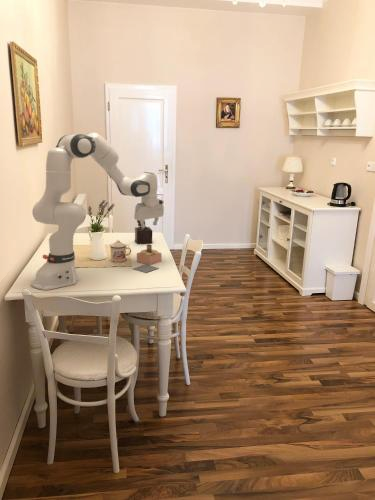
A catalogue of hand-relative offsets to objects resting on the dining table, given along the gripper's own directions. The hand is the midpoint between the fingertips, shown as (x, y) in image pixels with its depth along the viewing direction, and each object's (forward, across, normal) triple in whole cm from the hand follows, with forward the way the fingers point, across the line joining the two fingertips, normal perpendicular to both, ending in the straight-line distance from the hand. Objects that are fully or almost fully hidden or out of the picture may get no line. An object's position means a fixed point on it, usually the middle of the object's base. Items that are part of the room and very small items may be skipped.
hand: (149, 226), depth 228 cm
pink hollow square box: (+21, 0, 0) cm, 21 cm away
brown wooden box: (+20, +27, +32) cm, 46 cm away
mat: (+21, -10, -8) cm, 25 cm away
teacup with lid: (+21, -9, +14) cm, 27 cm away
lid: (+16, 0, 0) cm, 16 cm away
